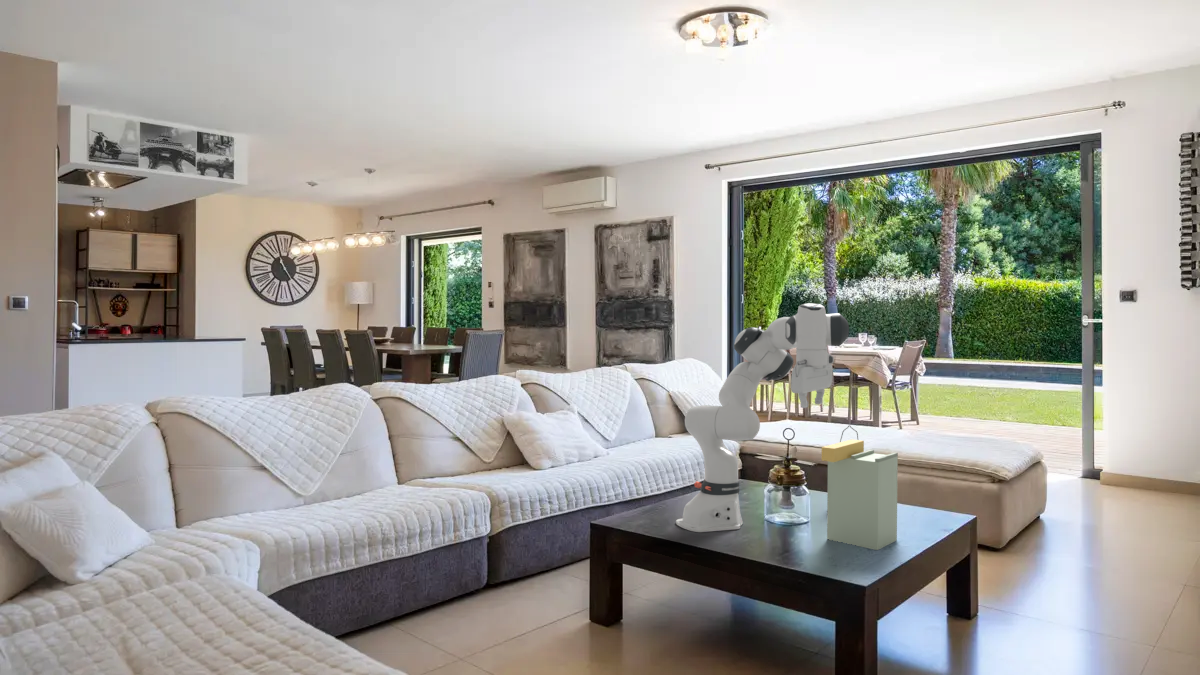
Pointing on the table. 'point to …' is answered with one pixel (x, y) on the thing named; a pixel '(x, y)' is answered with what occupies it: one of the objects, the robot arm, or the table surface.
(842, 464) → the sage green slotted block
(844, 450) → the bar
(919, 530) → the table surface
